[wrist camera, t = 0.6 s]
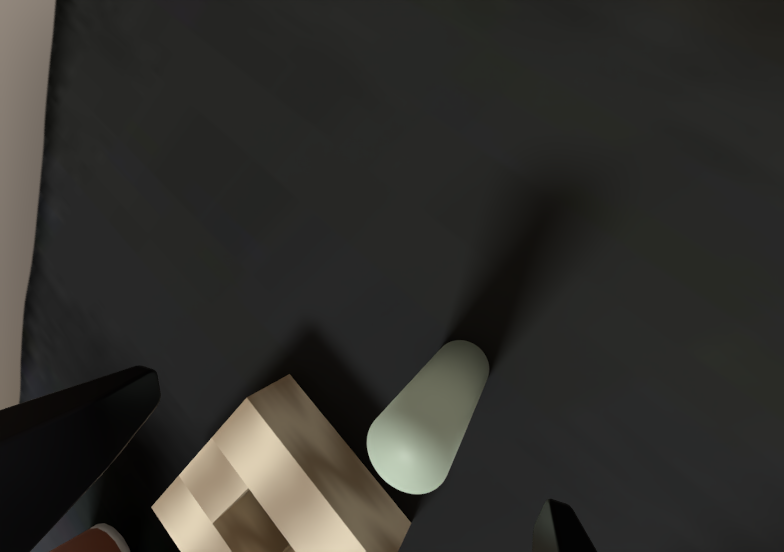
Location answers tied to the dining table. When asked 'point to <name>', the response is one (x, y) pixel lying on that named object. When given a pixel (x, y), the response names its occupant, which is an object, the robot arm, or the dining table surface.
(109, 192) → the dining table surface
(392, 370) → the dining table surface
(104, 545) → the coffee cup
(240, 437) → the hole board
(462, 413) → the peg
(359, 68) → the dining table surface
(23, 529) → the robot arm
